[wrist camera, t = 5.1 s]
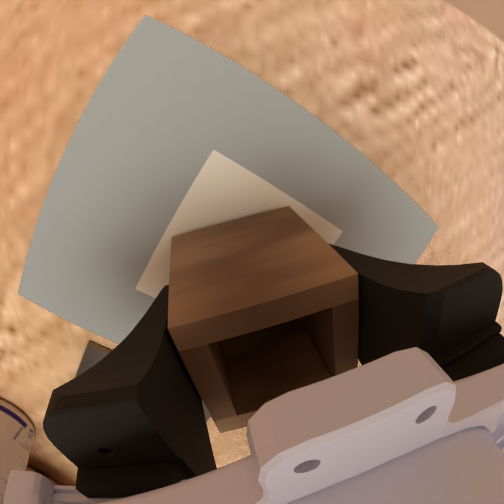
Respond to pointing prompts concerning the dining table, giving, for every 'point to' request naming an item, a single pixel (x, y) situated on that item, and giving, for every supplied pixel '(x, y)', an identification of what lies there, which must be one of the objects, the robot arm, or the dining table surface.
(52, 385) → the dining table surface
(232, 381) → the collar
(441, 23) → the dining table surface
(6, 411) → the energy drink
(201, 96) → the board
